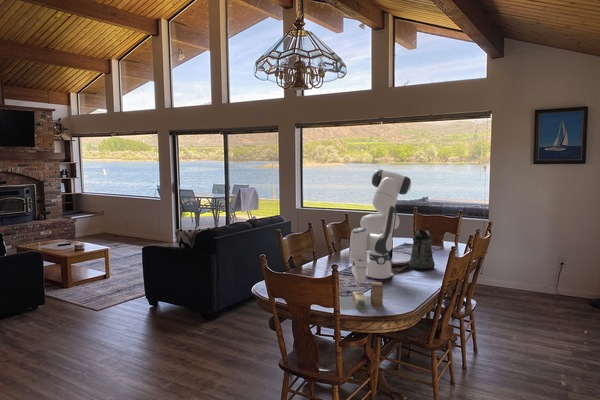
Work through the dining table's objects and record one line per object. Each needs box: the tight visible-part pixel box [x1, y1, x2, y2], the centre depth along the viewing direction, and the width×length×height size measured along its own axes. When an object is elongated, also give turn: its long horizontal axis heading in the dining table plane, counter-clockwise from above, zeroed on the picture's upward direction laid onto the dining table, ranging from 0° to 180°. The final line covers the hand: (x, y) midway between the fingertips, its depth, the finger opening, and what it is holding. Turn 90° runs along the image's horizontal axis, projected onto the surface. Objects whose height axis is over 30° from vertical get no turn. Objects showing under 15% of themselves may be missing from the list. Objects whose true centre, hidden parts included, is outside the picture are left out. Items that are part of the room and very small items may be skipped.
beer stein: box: [408, 230, 435, 272], centre depth 286 cm, size 16×19×25 cm
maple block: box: [352, 290, 367, 309], centre depth 219 cm, size 5×5×11 cm
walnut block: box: [370, 281, 384, 307], centre depth 218 cm, size 5×5×11 cm
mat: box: [339, 295, 387, 311], centre depth 222 cm, size 19×22×1 cm
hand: (357, 285), depth 224 cm, fingers closed
